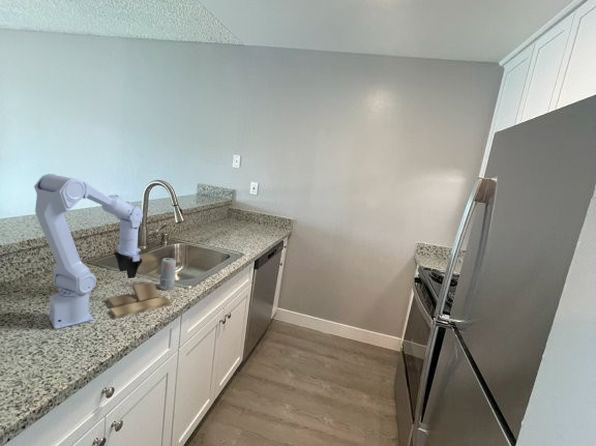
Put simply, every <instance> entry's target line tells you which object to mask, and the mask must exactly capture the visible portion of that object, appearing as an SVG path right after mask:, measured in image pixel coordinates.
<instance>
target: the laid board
mask: <svg viewBox="0 0 596 446" xmlns="http://www.w3.org/2000/svg"><path fill="white" fill-rule="evenodd" d="M171 305H172V301H171V300H169V298H168V297H166V296H160V297H159V298H154V299H150V300H146V301H141V302H139V301H138V302H137V301H136V303H133V304H128V305H124V306H119V307H115V308H113V307H111V308H110V309H109V312H110V313H111V314H112V315H113V317H114V318H115V319H119V318H124V317H127V316H131V315H136V314H139V313H143V312H147V311H151V310H154V309H159V308H162V307H163V308H164V307H167V306H171Z"/></svg>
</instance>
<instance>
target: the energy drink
mask: <svg viewBox="0 0 596 446" xmlns="http://www.w3.org/2000/svg"><path fill="white" fill-rule="evenodd" d="M160 267H161V269H160V280H159V281H160V282H159V288H160V289H161V290H163V291H171V290H173V289H174V288H175V281H176V280H175V279H176V270H177V269H176V268H177V260H176V259H175V257H174V258H173V257H165V258H162V260H161V265H160Z"/></svg>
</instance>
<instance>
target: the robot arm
mask: <svg viewBox="0 0 596 446" xmlns="http://www.w3.org/2000/svg"><path fill="white" fill-rule="evenodd" d="M33 188H34V190H35V193H36V200H35V201H36V203H35V211H34V212H35V216H36V218H37V220H38V222H39V225H40V228H41V230H42V232H43V234H44V236H45V240H46V241H47V244H48V246H49V249H50V251H51V254H52V256H53V259H54V261H55V264H56V266H55V267H54V268H53V269H52V272H53V284H54V286H56V287H57V288H58V292H57V293H55V294H53V295H50V296H49V316H48V318H49V319H48V320H49V321H50V323H51V325H52V326H53V328H54V329H55V330H57V329H62V328H67V327H70V326H73V325H74V326H75V325H80V324H82V323H86V322H90V321H94V317H93V315H92V314H90V294H91V292H92V291H93V290H94V288H95V286H96V284H97V278H96V276H95V275H94V273H92V272H91V271H90V268H89V267H88V266H86V264H84V262H82V260H81V258H80V255H79V253H78V250H77V247H76V244H75V241H74V239H73V237H72V234H71V230H70V228H69V225H68V223H67V220H66V216H65V214H66V213H67V212H68V211H70V210H71V209H72V208H73V207H75V205H76V204H78V203H79V202H80V201H81V200H82V199H88V200H90V201H93V202H94V203H97V204H100V205H101V208H102V210H103V211H105V212H106V213H109V214H111V215H113V216H114V217H116V218H117V220H119V223H120V224H119V240H118V241H119V243H118V244H117V248H116V249H117V251H115V252H113V255H114V256H115V258H116V261H117V266H118V269H119V271H120V272H125V271H126V274H127V275H126V276H127V278H128V279H135V278H136V276H137V272H138V269H139V267H140V266H141V264H142V263H143V259H142V258H140V254H139V252H141V248H139V247H138V245H139V244H138V242H139V241H138V240H139V239H138V238H139V227H140V225H141V221H142V220H143V217H144V213H143V211H142V209H141V208H140V206H137V205H132V204H131V202H130V201H125V200H123V199H122V196H121V195H117V194H115V195H114V194H111V195H106V194H105V192H102V191H100V190H99V189H98V188H95V187H93V186H92V185H90V184H89V183H88V182H86V181H82V180H81V179H78V178H75V177H74V178H73V177H66V176H61V175H57V174H54V173H47V174H44V175H42V176H41V177H40V178H39V180H38V181H37V182H36V183H35V185H34V186H33Z"/></svg>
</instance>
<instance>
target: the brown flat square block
mask: <svg viewBox="0 0 596 446" xmlns="http://www.w3.org/2000/svg"><path fill="white" fill-rule="evenodd" d="M106 302H107V303H108V305H110V307H111V308H115V307H119V306H124V305H128V304H133V303H137V299H136V298H134V297H133V296H132V295H130V294H129V293H124V294H121V295H120V294H119V295H116V296H115V295H114V296H109V297H106Z"/></svg>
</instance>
